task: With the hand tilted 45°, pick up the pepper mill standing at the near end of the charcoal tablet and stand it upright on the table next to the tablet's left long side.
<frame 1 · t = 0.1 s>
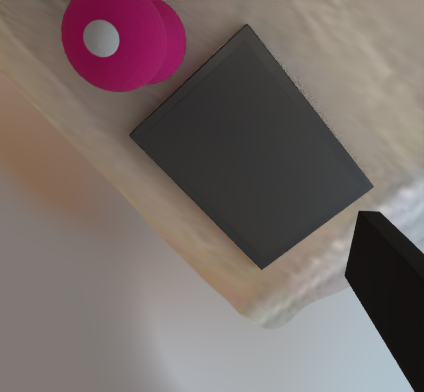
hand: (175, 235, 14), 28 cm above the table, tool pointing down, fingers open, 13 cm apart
tablet: (254, 159, 42), on the table
pepper mill: (151, 41, 37), on the table
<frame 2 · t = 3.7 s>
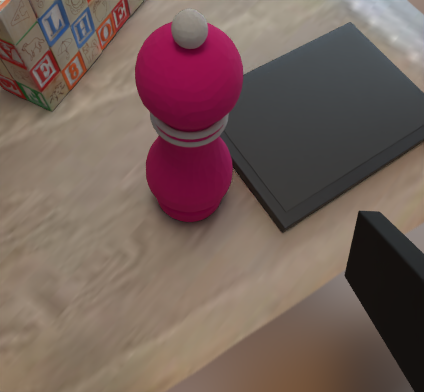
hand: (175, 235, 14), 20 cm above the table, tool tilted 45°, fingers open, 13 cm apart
tablet: (318, 117, 40), on the table
stack of blocks: (86, 34, 43), on the table
pepper mill: (189, 192, 36), on the table
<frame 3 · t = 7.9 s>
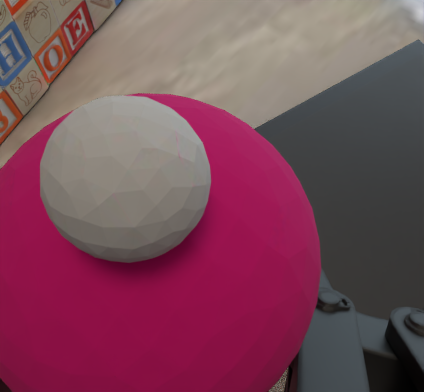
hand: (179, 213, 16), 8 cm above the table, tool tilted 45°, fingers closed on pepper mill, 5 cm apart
tablet: (380, 190, 26), on the table
stack of blocks: (28, 59, 29), on the table
pepper mill: (178, 326, 22), on the table, touching gripper
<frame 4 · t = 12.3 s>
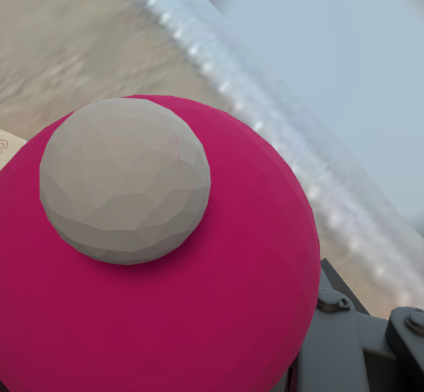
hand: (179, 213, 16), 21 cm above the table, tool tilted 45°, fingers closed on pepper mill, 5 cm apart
pepper mill: (178, 326, 22), point 13 cm above the table, touching gripper
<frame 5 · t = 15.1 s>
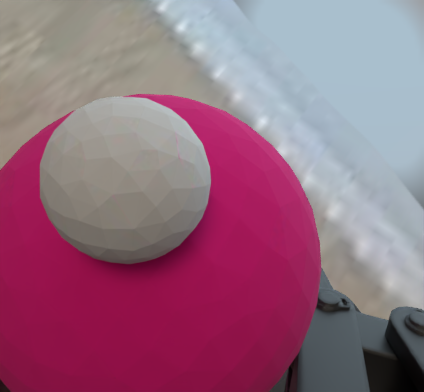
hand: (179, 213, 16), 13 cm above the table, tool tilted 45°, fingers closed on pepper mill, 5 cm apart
pepper mill: (178, 326, 22), point 5 cm above the table, touching gripper
when the fingers open (8 cm above the table, at t = 16.8 s): pepper mill stays where it is, on the table.
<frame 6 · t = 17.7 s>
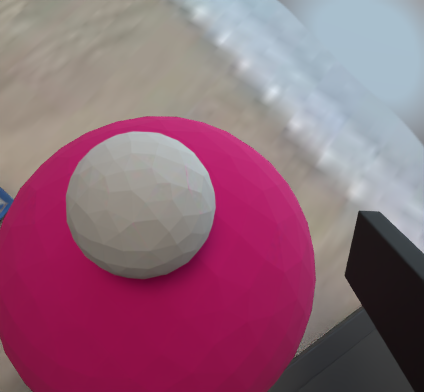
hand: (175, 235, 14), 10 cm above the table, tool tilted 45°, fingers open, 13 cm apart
pepper mill: (180, 327, 22), on the table
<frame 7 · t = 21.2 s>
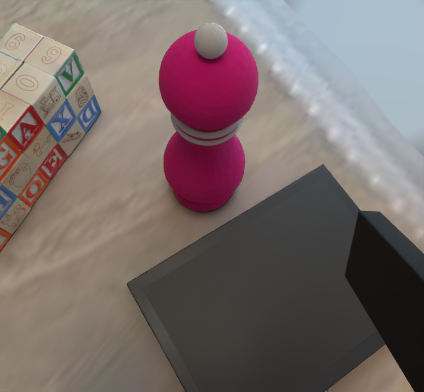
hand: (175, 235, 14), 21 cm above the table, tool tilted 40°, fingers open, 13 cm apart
tablet: (279, 295, 34), on the table
stack of blocks: (16, 182, 37), on the table
pepper mill: (203, 183, 38), on the table
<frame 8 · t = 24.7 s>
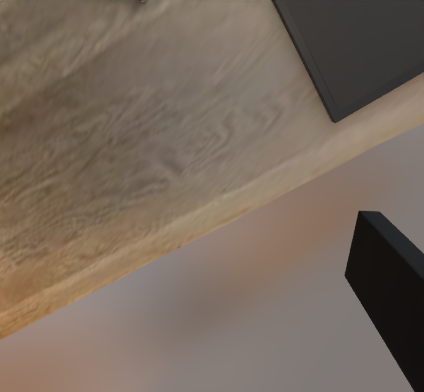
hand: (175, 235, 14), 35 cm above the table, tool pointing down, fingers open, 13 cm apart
tablet: (391, 9, 43), on the table
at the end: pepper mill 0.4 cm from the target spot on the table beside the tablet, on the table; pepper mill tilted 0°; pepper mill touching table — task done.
